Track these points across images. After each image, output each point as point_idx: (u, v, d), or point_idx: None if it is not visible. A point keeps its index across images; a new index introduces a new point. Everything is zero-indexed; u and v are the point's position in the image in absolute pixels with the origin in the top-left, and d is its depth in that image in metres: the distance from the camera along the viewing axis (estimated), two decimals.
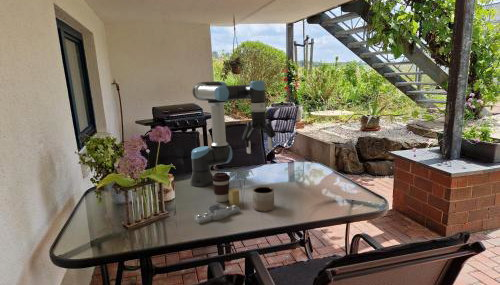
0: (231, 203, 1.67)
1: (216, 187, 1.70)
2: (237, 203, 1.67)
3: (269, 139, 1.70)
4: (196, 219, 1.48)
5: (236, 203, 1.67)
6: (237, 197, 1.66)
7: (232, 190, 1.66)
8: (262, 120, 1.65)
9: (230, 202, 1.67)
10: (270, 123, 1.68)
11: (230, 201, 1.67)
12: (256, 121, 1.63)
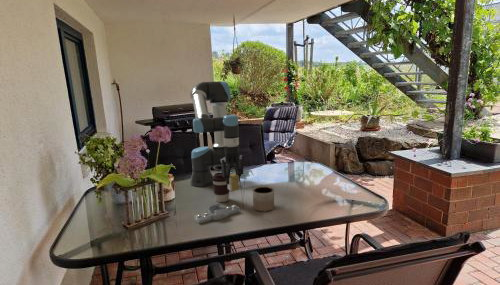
0: None
1: (216, 187, 1.70)
2: (236, 188, 1.66)
3: None
4: (196, 219, 1.48)
5: (235, 187, 1.66)
6: (236, 182, 1.65)
7: (231, 175, 1.65)
8: (236, 153, 1.64)
9: None
10: (242, 160, 1.66)
11: None
12: (228, 155, 1.61)
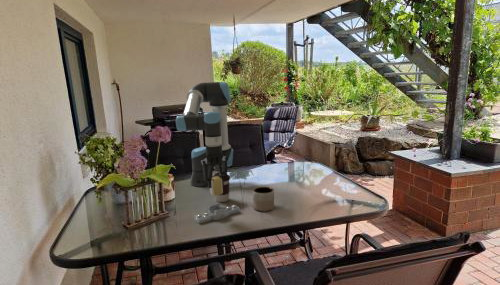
0: None
1: None
2: (219, 192, 1.50)
3: None
4: (196, 219, 1.48)
5: (218, 192, 1.50)
6: (219, 185, 1.50)
7: (214, 178, 1.50)
8: (219, 154, 1.49)
9: None
10: (226, 161, 1.51)
11: None
12: (210, 156, 1.46)
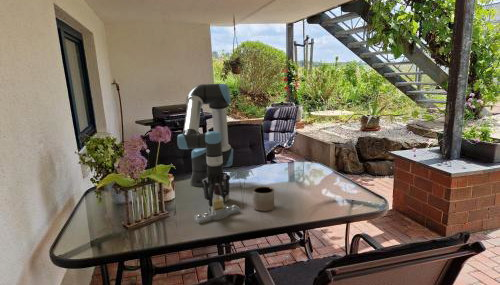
0: None
1: (216, 187, 1.70)
2: None
3: (221, 199, 1.54)
4: (196, 219, 1.48)
5: None
6: (220, 208, 1.52)
7: (215, 200, 1.52)
8: (220, 172, 1.51)
9: None
10: (227, 180, 1.53)
11: None
12: (211, 175, 1.48)
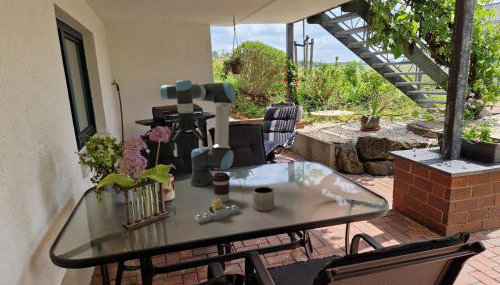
0: None
1: (216, 187, 1.70)
2: None
3: (200, 141, 1.62)
4: (196, 219, 1.48)
5: None
6: (220, 208, 1.52)
7: (215, 200, 1.52)
8: (190, 122, 1.57)
9: None
10: (200, 125, 1.60)
11: (213, 212, 1.53)
12: (183, 123, 1.55)
